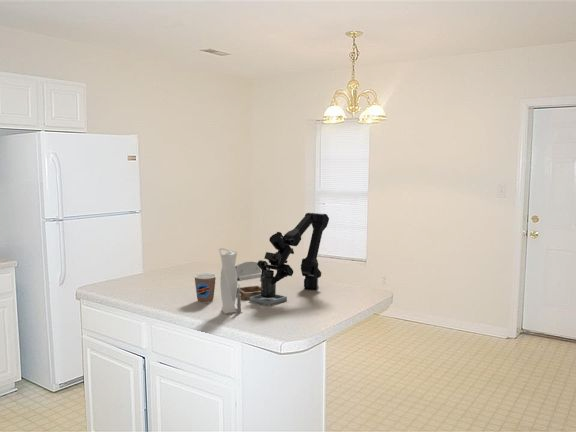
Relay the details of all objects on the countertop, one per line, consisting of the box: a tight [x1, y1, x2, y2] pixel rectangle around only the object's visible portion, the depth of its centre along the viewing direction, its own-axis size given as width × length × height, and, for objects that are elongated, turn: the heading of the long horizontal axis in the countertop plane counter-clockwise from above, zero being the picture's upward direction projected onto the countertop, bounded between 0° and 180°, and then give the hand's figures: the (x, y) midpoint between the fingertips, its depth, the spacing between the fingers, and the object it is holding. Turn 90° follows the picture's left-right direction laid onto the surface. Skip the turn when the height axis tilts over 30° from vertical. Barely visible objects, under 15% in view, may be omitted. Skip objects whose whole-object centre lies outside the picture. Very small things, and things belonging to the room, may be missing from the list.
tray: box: [249, 293, 288, 307], centre depth 237 cm, size 12×12×2 cm
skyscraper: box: [218, 247, 243, 316], centre depth 218 cm, size 8×8×28 cm
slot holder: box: [237, 285, 261, 301], centre depth 247 cm, size 12×12×3 cm
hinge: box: [235, 261, 262, 282], centre depth 287 cm, size 17×5×10 cm, turn 130°
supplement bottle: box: [260, 269, 277, 298], centre depth 236 cm, size 7×7×12 cm
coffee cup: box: [193, 273, 217, 304], centre depth 236 cm, size 10×10×12 cm
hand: (266, 282), depth 235 cm, fingers closed on supplement bottle, 7 cm apart
